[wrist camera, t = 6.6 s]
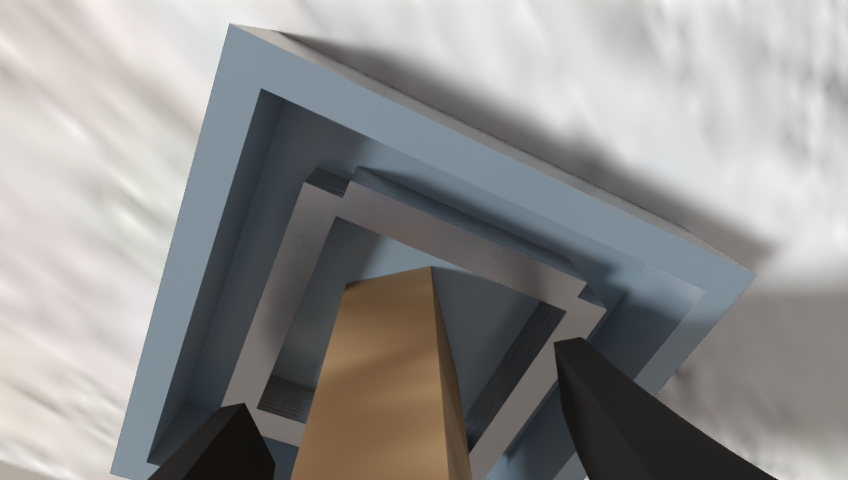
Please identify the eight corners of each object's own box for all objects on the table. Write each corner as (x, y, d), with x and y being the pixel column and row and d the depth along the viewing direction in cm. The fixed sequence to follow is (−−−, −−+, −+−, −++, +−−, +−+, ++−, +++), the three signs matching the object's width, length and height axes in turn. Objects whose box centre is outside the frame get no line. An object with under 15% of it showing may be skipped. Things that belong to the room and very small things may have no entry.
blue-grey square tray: (685, 229, 12) (757, 275, 10) (486, 496, 17) (499, 578, 14) (275, 30, 10) (229, 22, 8) (163, 398, 14) (109, 473, 12)
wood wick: (430, 265, 12) (452, 512, 6) (457, 378, 14) (499, 671, 7) (346, 283, 12) (271, 543, 6) (382, 392, 14) (357, 693, 7)
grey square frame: (595, 270, 12) (617, 295, 11) (464, 460, 15) (470, 498, 14) (322, 149, 11) (310, 163, 9) (233, 386, 13) (215, 421, 12)
